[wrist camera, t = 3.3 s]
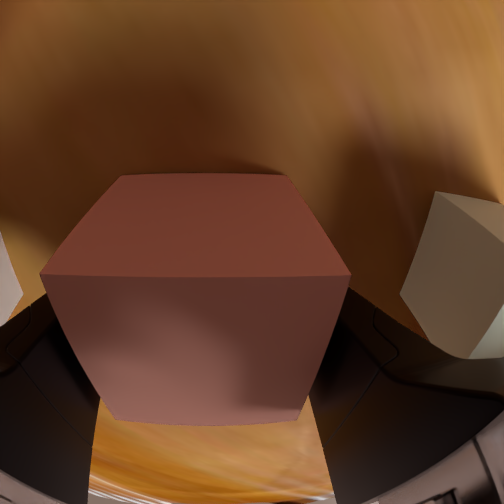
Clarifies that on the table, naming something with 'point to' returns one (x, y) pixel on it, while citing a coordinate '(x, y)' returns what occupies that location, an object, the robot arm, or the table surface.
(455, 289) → the sage green block
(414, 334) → the robot arm
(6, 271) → the pale grey block
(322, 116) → the table surface
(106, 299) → the brick-red block
